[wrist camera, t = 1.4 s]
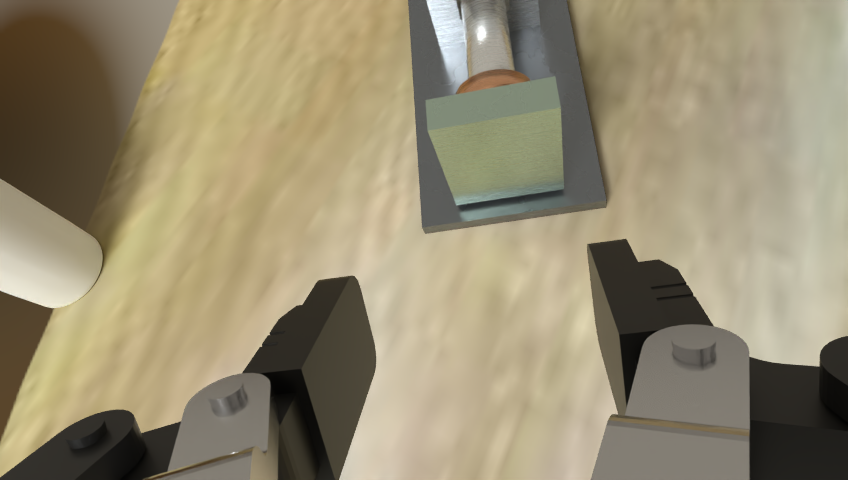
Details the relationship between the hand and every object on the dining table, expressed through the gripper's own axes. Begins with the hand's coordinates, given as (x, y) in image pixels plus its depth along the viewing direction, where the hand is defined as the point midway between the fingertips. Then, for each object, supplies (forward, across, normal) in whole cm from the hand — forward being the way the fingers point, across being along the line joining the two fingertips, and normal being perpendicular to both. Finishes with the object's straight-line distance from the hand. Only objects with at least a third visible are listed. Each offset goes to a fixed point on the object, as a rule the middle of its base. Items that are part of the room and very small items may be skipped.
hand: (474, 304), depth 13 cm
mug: (+29, +36, +8) cm, 47 cm away
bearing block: (+37, 0, 0) cm, 37 cm away
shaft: (+33, 0, +1) cm, 33 cm away
